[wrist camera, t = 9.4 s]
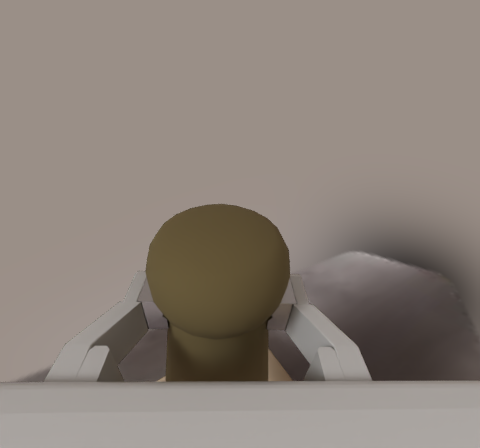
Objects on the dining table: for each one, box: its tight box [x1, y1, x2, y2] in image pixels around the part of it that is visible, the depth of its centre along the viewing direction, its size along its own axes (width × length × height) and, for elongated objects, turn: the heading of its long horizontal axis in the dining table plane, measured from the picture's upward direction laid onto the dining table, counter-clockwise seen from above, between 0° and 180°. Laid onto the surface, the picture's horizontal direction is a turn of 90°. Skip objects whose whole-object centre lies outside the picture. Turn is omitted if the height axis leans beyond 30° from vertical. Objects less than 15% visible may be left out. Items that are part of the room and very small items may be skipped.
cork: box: [145, 204, 290, 382], centre depth 11 cm, size 6×6×11 cm
